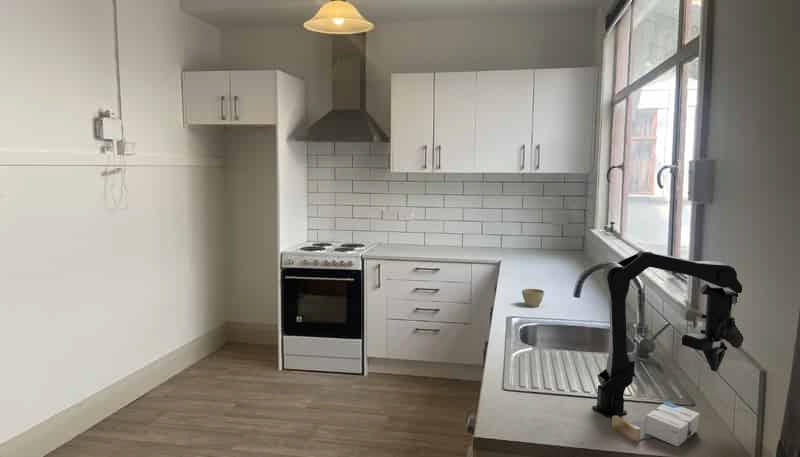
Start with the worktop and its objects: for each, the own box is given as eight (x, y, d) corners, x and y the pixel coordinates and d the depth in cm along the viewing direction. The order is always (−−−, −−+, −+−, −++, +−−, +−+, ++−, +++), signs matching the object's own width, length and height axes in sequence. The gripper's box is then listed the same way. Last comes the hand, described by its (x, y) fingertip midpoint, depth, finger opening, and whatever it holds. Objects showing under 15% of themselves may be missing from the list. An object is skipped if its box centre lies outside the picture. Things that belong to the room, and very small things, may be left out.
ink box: (663, 418, 154) (642, 433, 146) (665, 400, 153) (645, 414, 145) (697, 431, 147) (678, 447, 139) (700, 413, 147) (680, 428, 139)
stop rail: (611, 427, 150) (612, 416, 149) (615, 426, 150) (616, 415, 150) (636, 441, 142) (636, 429, 142) (639, 440, 143) (640, 428, 142)
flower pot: (530, 302, 284) (531, 287, 283) (548, 306, 276) (548, 291, 275) (517, 305, 277) (517, 290, 277) (534, 309, 270) (535, 294, 269)
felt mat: (615, 426, 150) (615, 425, 150) (653, 418, 155) (654, 417, 155) (639, 440, 143) (640, 439, 143) (679, 431, 148) (679, 430, 148)
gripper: (720, 323, 141) (716, 386, 143) (773, 315, 148) (768, 376, 150) (681, 312, 151) (677, 371, 153) (732, 305, 158) (728, 362, 160)
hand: (714, 370), depth 154 cm, fingers closed
